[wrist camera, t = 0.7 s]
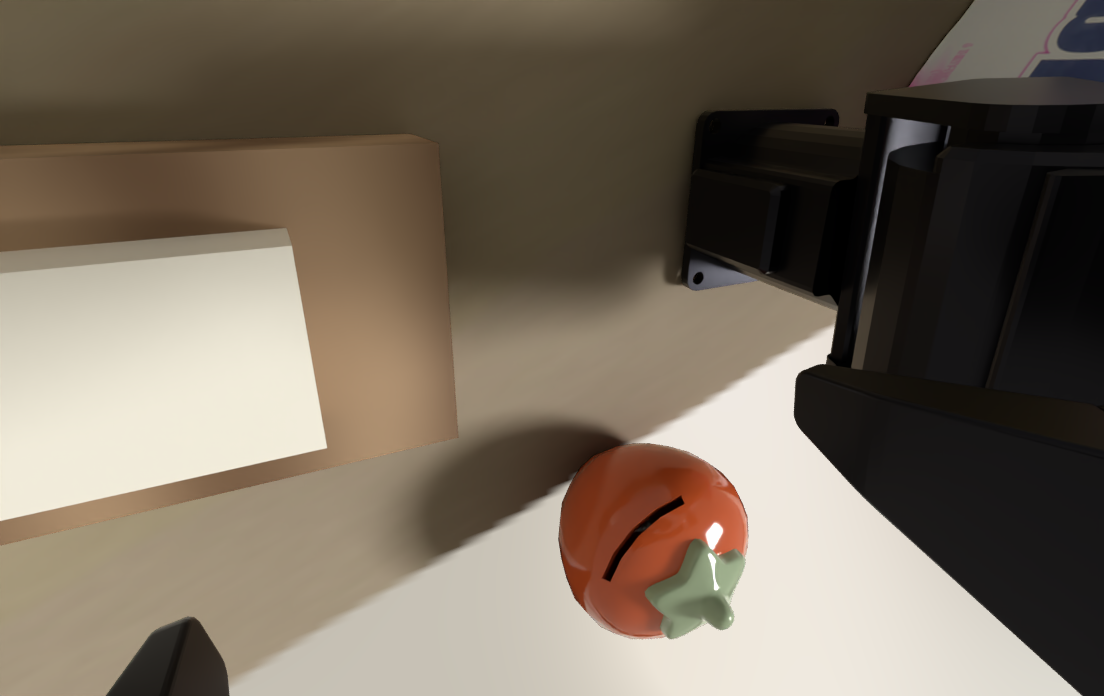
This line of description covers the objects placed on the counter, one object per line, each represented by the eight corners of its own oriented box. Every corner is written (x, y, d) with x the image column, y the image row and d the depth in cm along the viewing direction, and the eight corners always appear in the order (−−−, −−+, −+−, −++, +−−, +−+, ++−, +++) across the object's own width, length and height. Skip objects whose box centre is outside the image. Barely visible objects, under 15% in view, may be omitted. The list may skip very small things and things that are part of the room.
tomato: (622, 378, 24) (764, 491, 18) (701, 466, 28) (841, 584, 22) (493, 511, 24) (588, 677, 17) (592, 580, 28) (700, 735, 21)
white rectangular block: (286, 228, 14) (291, 245, 12) (319, 413, 16) (327, 448, 15) (-116, 261, 11) (-171, 289, 10) (-15, 481, 13) (-48, 531, 12)
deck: (410, 133, 17) (438, 143, 15) (432, 394, 21) (458, 437, 18) (-100, 148, 13) (-181, 165, 10) (37, 474, 16) (0, 545, 14)
